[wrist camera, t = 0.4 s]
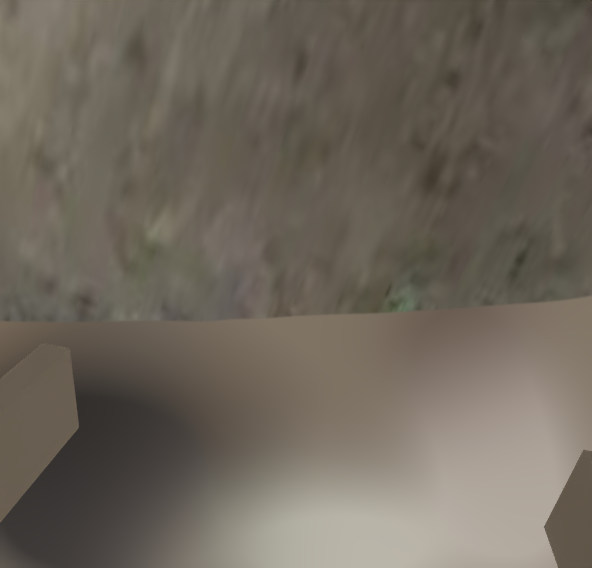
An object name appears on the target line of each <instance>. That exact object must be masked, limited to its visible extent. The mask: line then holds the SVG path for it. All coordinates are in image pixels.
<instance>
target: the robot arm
mask: <svg viewBox="0 0 592 568" xmlns="http://www.w3.org/2000/svg"><path fill="white" fill-rule="evenodd" d="M78 427H79V424H78V415H77V406H76V398H75V389H74V381H73V373H72V364H71V355H70V348H64V347H59V346H54V345H50V344H45V343H42V344H41V345H40V346H39V347H38V348H37V349H35V350H34V351H33V352H32V353H30V355H28V356H27V357H26V358H24V359H23V360H22V361H21V362H20V363H18V364H17V365H16V366H15V367H14V368H13V369H11V370H10V371H9V372H8V373H6V374H5V375H4V376H3V377H2V378H0V522H1V521H2V520H3V518H4V517H5V516H6V515H7V514H8V512H9V511H10V510H11V509H12V508H13V506H14V505H15V504H16V503H17V502H18V500H19V499H20V498H21V497H22V495H23V494H24V493H25V492H26V491H27V489H28V488H29V487H30V486H31V485H32V483H33V482H34V481H35V480H36V479H37V477H38V476H39V475H40V474H41V472H42V471H43V470H44V469H45V468H46V466H47V465H48V464H49V463H50V462H51V460H52V459H53V458H54V456H55V455H56V454H57V453H58V452H59V451H60V449H61V448H62V447H63V446H64V444H65V443H66V442H67V441H68V439H70V437H71V436H72V435H73V434H74V433H75V431H76V430H77V429H78ZM544 528H545V531H546V534H547V537H548V539H549V542H550V545H551V548H552V551H553V553H554V556H555V560H556V562H557V565H558V568H592V451H587V450H583V452H582V454H581V456H580V458H579V460H578V462H577V464H576V466H575V468H574V470H573V471H572V473H571V475H570V477H569V479H568V481H567V483H566V485H565V488H564V489H563V491H562V493H561V495H560V497H559V499H558V501H557V503H556V505H555V507H554V509H553V511H552V512H551V514H550V516H549V518H548V520H547V522H546V524H545V526H544Z"/></svg>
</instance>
